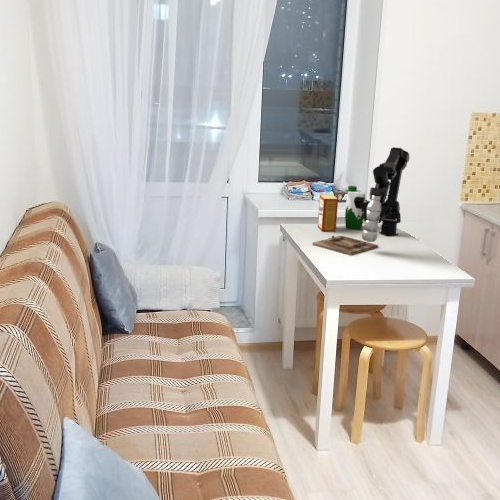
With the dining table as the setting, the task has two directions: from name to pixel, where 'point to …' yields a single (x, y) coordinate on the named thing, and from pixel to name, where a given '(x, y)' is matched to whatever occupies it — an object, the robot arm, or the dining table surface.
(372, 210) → the plastic bottle
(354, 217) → the milk carton
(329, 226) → the baking soda box
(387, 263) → the dining table surface
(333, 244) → the walnut bottle stand
